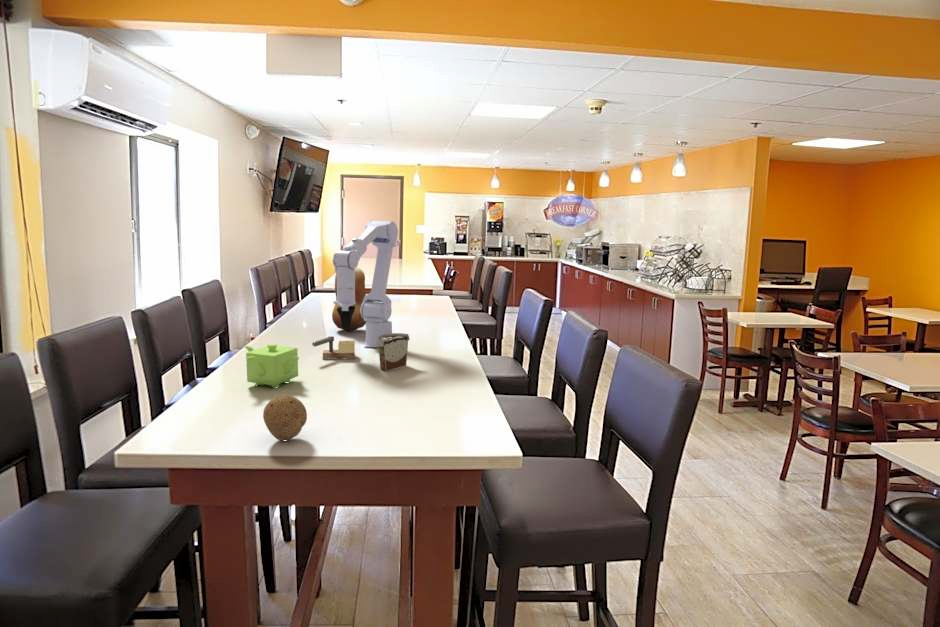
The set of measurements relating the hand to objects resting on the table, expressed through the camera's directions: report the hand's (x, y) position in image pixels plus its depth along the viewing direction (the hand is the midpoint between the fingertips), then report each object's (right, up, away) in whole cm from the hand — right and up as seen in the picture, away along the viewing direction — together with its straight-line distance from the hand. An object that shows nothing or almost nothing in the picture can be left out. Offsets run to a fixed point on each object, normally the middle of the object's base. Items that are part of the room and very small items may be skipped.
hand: (346, 329), depth 207 cm
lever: (-7, -5, -4) cm, 9 cm away
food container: (+15, -12, -9) cm, 21 cm away
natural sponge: (+1, -22, -70) cm, 73 cm away
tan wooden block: (0, -7, +1) cm, 7 cm away
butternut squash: (-7, -2, +43) cm, 43 cm away
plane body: (-3, -9, +1) cm, 10 cm away
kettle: (-15, -15, -29) cm, 36 cm away
